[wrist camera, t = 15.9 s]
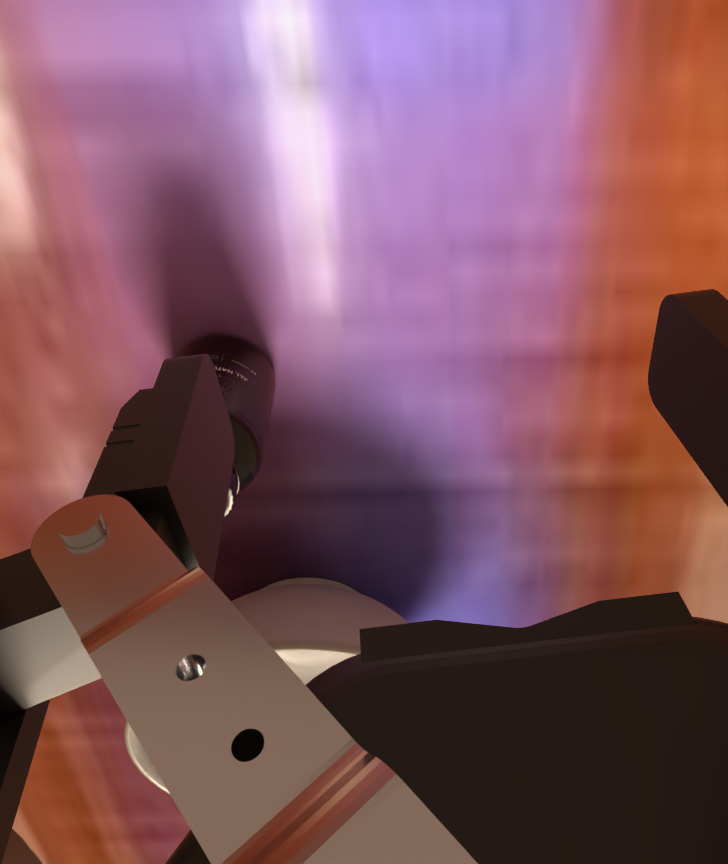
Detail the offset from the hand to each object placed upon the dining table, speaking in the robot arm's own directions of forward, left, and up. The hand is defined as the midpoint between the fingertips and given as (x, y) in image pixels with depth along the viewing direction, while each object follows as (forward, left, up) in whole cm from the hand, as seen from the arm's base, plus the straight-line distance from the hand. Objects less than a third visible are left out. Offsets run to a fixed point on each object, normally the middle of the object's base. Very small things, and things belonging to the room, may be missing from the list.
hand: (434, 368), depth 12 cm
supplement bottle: (-12, -16, -28) cm, 34 cm away
